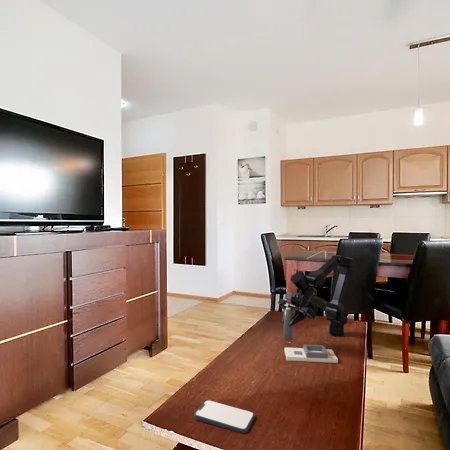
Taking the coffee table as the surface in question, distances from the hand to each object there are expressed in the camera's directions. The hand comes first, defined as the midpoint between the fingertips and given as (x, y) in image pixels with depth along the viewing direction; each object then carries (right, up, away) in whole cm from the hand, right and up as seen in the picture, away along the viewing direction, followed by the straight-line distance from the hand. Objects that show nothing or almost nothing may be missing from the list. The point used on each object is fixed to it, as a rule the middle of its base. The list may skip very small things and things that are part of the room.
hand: (286, 324), depth 141 cm
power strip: (+8, -11, -8) cm, 16 cm away
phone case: (-27, -12, -50) cm, 58 cm away
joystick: (+1, -7, +1) cm, 7 cm away
